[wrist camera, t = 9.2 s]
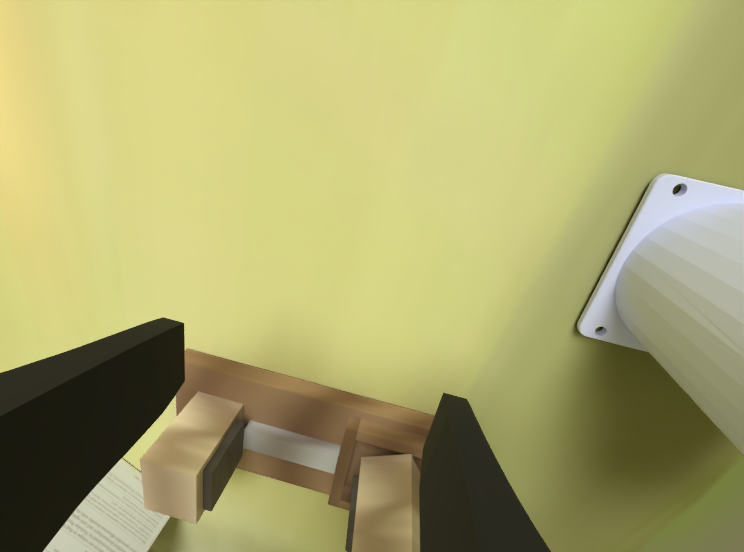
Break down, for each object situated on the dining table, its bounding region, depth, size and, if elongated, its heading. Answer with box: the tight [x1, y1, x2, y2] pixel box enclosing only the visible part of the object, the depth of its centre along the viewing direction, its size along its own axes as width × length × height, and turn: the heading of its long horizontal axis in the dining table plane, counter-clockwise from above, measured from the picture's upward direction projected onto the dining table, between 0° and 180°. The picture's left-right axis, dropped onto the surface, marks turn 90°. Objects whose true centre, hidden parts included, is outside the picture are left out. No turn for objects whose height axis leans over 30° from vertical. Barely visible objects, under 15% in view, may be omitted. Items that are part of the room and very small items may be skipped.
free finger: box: [345, 454, 421, 552], centre depth 20 cm, size 4×4×5 cm
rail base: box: [140, 349, 435, 524], centre depth 22 cm, size 18×8×6 cm, turn 78°
